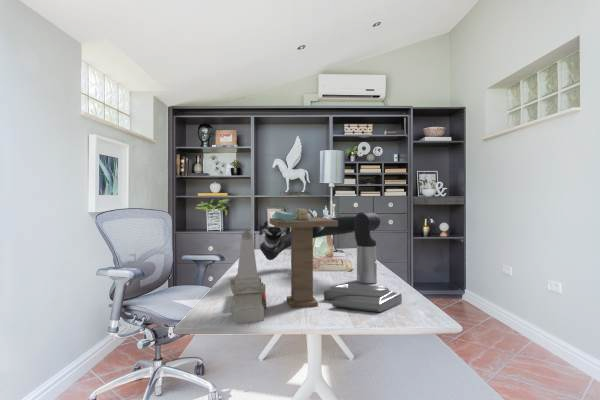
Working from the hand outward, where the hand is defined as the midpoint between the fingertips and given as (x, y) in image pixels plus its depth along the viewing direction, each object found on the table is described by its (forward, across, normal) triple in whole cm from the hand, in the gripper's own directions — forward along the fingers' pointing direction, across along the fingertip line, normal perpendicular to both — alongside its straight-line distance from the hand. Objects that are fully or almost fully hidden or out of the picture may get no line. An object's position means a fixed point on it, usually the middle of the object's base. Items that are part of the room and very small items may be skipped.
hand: (276, 222), depth 154 cm
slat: (+16, 0, -6) cm, 18 cm away
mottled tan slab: (-52, -36, -5) cm, 63 cm away
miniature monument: (+15, +15, -43) cm, 48 cm away
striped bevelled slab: (+8, -30, -40) cm, 50 cm away
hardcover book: (-1, +13, -34) cm, 36 cm away
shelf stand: (+6, -6, -37) cm, 38 cm away
